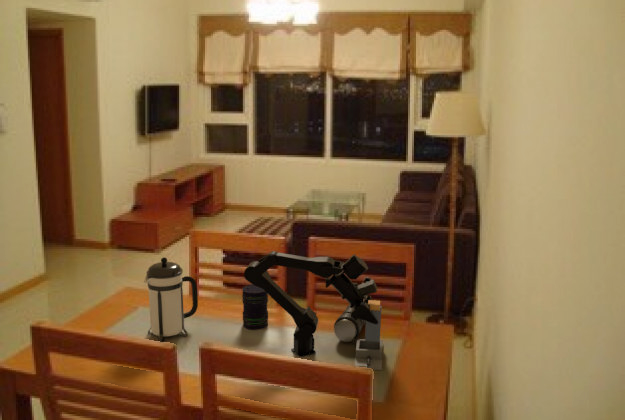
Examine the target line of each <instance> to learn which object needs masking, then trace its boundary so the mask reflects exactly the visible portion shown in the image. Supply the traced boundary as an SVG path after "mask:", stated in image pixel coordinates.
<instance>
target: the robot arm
mask: <svg viewBox="0 0 625 420" xmlns="http://www.w3.org/2000/svg"><path fill="white" fill-rule="evenodd" d="M273 266H278V267H279V266H280V267H284V268H288V269H289V268H290V269H295V270H296V269H297V270H302V271H307V272H309V273H311V274H313V275H315V276H318V277H320V278H324V281H325V288H328V287H330V286H332V287H333V288H334V289H335V290H336V291H337V292H338V293H339V294H340V295H341V299H342V300H345V301H347V302H348V304H350V307H351V308H353V307H354V306H355V307H354V308H353V309H352V310H351V317H352V318H353V320H354V321H355V320H357V319H358V318H359V319H362V320H365V321H368V322H370V323H373V324H378V321H377V320H376V318H375V317H374V315H373V314H372V312H371V311H370V304H369V305H368V300H371V298H372V296H371V294H374V293H377V291H378V287H377V284H376V281H375V280H374V279H373V278H371V277H369V276H366V277H364V279H363V280H364V281H363V282H362V283H361V284H359V283H357V282H353V280H357V279H358V278H360V277H361V276H362V275H363V274H365V273H366V271H367V270H369V267H368V265H367V263H366V262H365V261H364V260H363V259H362V258H361V257H359V256H357V255H356V254H352V255H351V256H350V258H349V259H347V260H346V261H345V262H344V261H340V260H335V259H333V257H331V256H314V257H307V256H302V255H296V254H291V253H289V254H288V253H285V252H284V253H283V252H278V251H276V250H273V251H270V252H269V253H268V254H267V255H265V256H263V257H261V258H260V259H259V260H258V261H255V260H254V261H251V262H250V263H249V265H248V266H247V267H246V268H245V270H244V272H243V276H244V280H245V281H247V282H248V283H250V285H252V284H253V285H254V286H256V287H259V288H262V289H263V290H264V291H265V292H266V293H267V294H268V296H270V297H271V299H272V300H274V301H275V302H276V303H277V304H278V305H279V306H280V307H281V308H282V309H283V310H284V311H285V313H286V312H287V314H289V315H290V317H291V318H292V320H293V321H294V323H295V325H296V328H295V329H294V333H293V348H292V347H291V349H290V350H291V351H292V352H293V353H294V354H295V355H297V356H298V357H300V358H301V357H306V356H309V355H313V354H315V353H316V350H315V337H314V334H315V332H317V328H318V324H319V317H318V316H317V312H315V311H314V310H313V309H312V308H311V307H310V306H307V307H306V308H305V307H302V306H301V305H299V304H298V303H297V302H296V301H295V300H294V299H293V298H292V297H291V296H290V295H289V294H288V293H287V292H286V291H285V290H284V289H283V288H282V287H281V286H280V285H279V284H278V283H276V282H275V280H273V279H272V278H271V276H270V273H269V271H268V270H269V269H270V268H272V267H273ZM365 295H368V297H367V296H365Z"/></svg>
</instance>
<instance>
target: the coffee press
mask: <svg viewBox="0 0 625 420" xmlns="http://www.w3.org/2000/svg"><path fill="white" fill-rule="evenodd" d="M183 273H184V272H183V268H182V267H181V266H180V264H178V263H176V262H173V261H168V258H167V257H162V258H161V260H160V261H159V262H156V263H153V264H151V265H150V266H149V267H148V268H147V271H146V274H145V275H146V276H145V278H144V283H145V284H146V283H147V288H148V302H149V305H148V306H149V319H150V320H149V321H150V322H149V323H150V327H149V329H148V331H147V333H148V334H149V335H152V334H153V335H155V336H158V342H159V341H163V342H164V341H165V338H166V337H172V336H177V335H178V334H180V335H182V336H183V337H186V336H187V335H188V331H187V330H186V328H185V319H188V318H190V317H192V316H194V315H195V313H196V312H197V310H198V305H199V299H198V284H197V281H196V280H195V279H194V278H193V277H192V276H190V275H189V276H188V275H187V276H183V277H182V275H183ZM184 282H189V283H190V284H191V293H192V294H191V295H192V297H191V298H192V307H191V309H190V310H189V311H187V312H184V295H183V294H184V293H183V292H184V291H183V283H184Z"/></svg>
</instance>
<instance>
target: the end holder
mask: <svg viewBox="0 0 625 420" xmlns="http://www.w3.org/2000/svg"><path fill="white" fill-rule="evenodd" d="M383 343H384V340H383V339H382V340H381V339H380V342H375V341H365V338H356V345H355V347H356V348H355V359H354V367H355V366H359V367H367V368H372V369H373V370H374V371H382V370H383V348H384V347H383Z"/></svg>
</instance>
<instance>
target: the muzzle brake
mask: <svg viewBox="0 0 625 420" xmlns="http://www.w3.org/2000/svg"><path fill="white" fill-rule="evenodd" d="M365 296H367V297H368V296H369V294H368V295H365ZM371 300H373V298H372V297H371ZM354 307H355V306H354ZM354 307H353V308H354ZM353 308H351V307H350V303H348V305H347V307H346V308H345V309H344V311H343V312H342V313H341V314H340V315H339V316H338V318H337V319H336V320H335V322H334V323H333V330H334V332H333V333H334V335H335V336H336V338H337V339H338V340H340V342H344V343H349V342H353V341H354V340H357V339H358V336H360V334H361V331H362V329H363V327H364V325H366V321H365V320H362V319H359V318H358V319H357V320H355V321H354V320H353V318H352V317H351V310H352V309H353Z"/></svg>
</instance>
